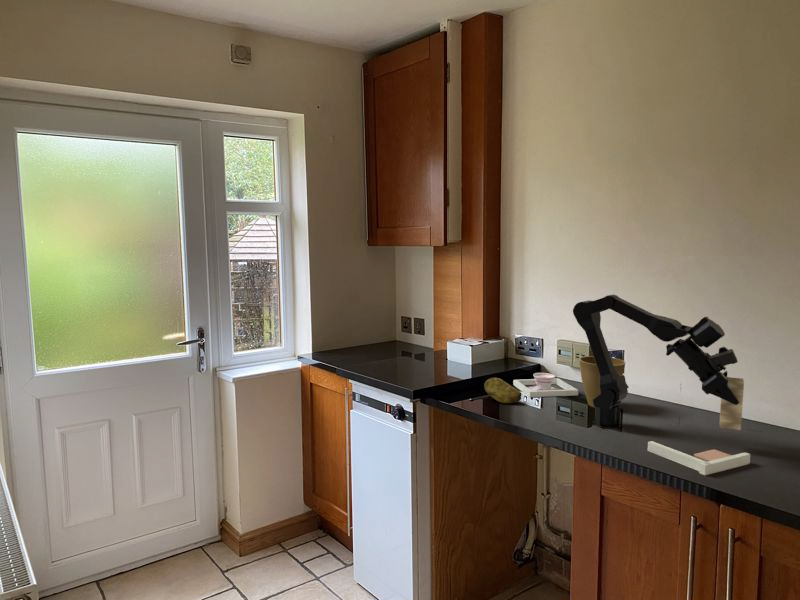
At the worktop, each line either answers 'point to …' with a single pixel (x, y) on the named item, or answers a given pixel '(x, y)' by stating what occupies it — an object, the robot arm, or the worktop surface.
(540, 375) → the teacup
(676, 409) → the worktop surface
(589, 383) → the plant pot
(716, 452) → the corner arena
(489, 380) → the potato
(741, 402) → the birch block
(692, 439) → the worktop surface
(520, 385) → the saucer tray
